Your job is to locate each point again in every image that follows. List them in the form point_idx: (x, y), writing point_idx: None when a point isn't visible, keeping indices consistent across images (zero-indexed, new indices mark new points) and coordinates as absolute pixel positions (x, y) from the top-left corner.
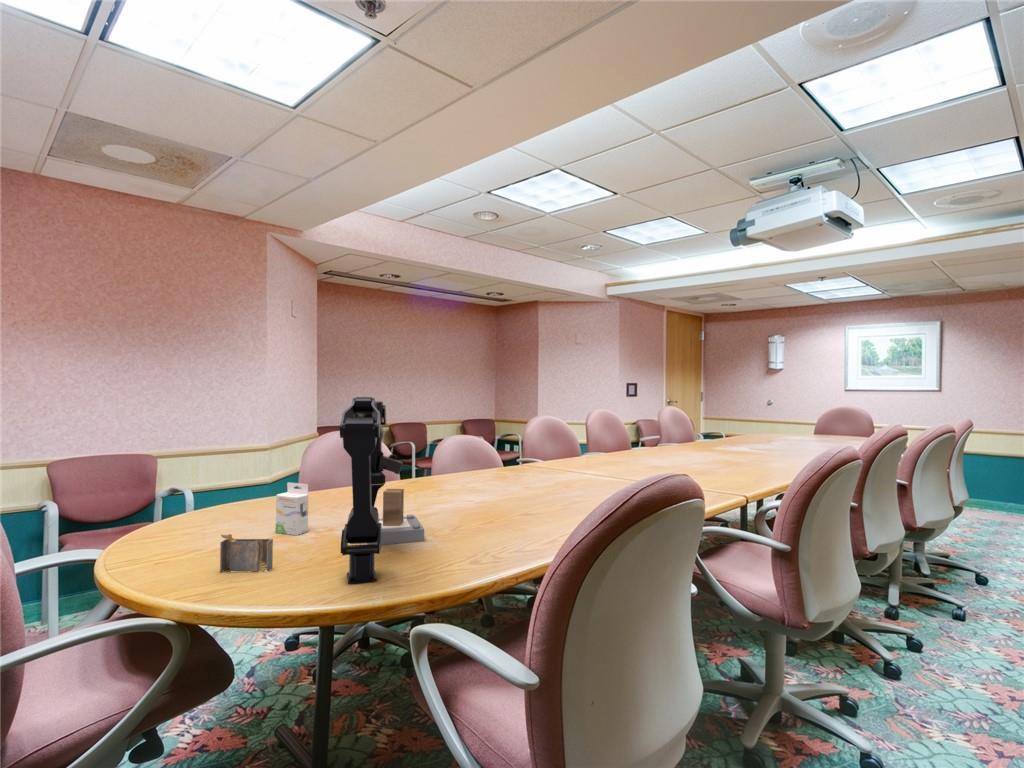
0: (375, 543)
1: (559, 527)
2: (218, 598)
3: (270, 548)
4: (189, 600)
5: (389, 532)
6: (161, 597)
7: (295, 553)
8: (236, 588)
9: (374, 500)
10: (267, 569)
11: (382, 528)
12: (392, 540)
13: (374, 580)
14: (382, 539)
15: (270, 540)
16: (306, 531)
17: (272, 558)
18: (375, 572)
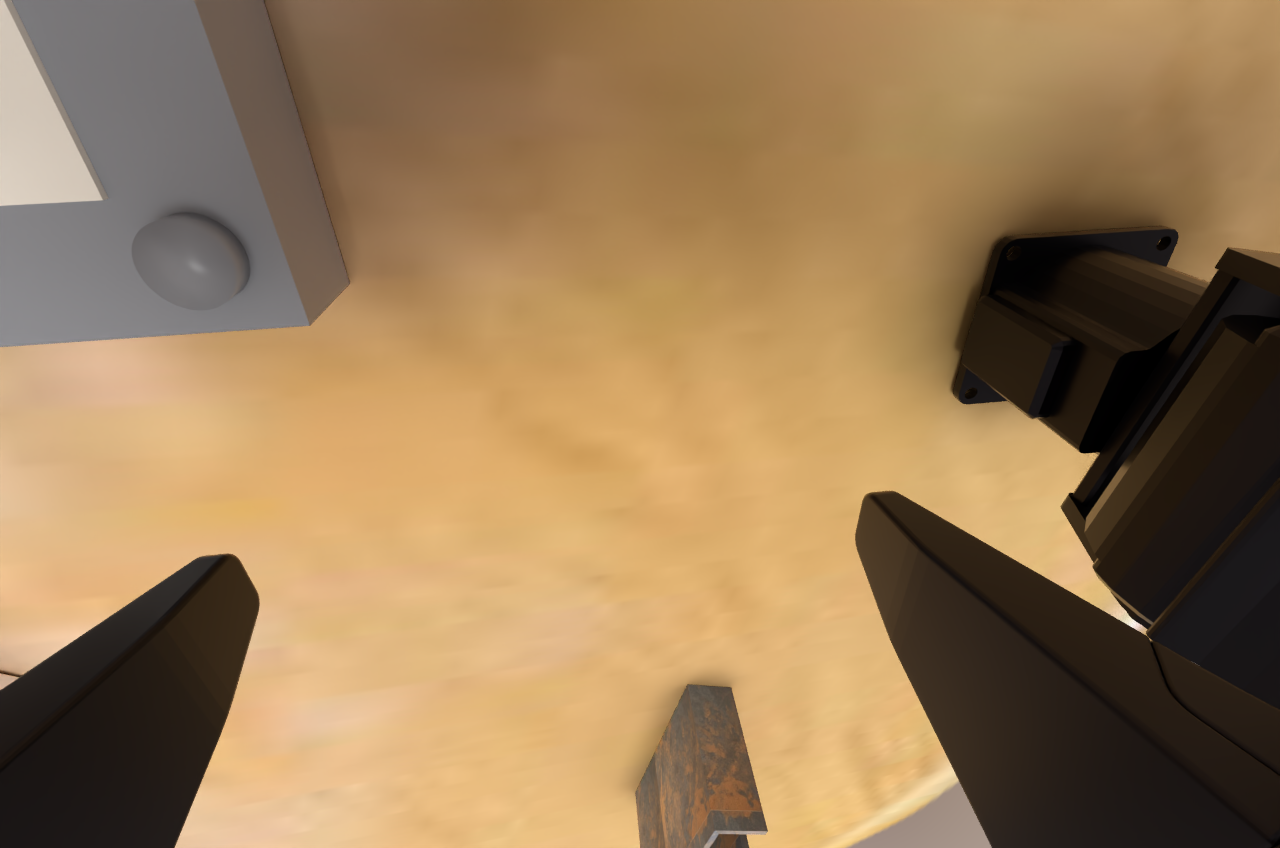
0: (323, 217)
1: None
2: (937, 739)
3: (731, 785)
4: (909, 784)
5: (222, 67)
6: (846, 831)
7: (479, 650)
8: (871, 724)
9: (1056, 603)
10: (732, 698)
11: (81, 157)
12: (254, 24)
13: (1169, 244)
14: (284, 150)
15: (742, 831)
16: (5, 677)
17: (695, 726)
18: (1061, 236)
